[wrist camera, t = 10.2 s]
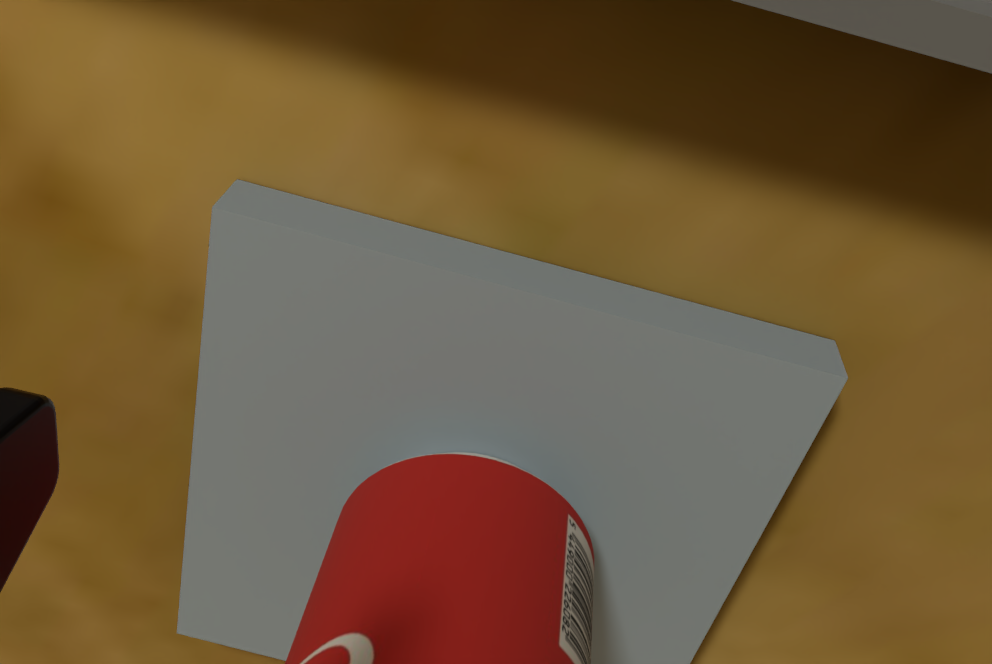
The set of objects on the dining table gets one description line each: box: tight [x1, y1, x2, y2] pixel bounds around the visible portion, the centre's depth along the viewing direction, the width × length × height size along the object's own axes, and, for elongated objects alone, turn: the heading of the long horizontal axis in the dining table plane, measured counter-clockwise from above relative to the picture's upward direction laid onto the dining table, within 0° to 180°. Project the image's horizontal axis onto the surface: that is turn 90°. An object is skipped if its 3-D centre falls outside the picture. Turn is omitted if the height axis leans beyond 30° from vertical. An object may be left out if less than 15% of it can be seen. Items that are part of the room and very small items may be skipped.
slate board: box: [177, 179, 848, 664], centre depth 24 cm, size 14×14×2 cm
